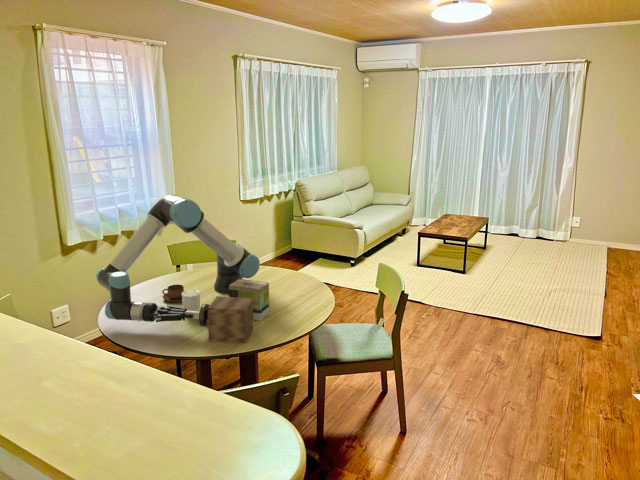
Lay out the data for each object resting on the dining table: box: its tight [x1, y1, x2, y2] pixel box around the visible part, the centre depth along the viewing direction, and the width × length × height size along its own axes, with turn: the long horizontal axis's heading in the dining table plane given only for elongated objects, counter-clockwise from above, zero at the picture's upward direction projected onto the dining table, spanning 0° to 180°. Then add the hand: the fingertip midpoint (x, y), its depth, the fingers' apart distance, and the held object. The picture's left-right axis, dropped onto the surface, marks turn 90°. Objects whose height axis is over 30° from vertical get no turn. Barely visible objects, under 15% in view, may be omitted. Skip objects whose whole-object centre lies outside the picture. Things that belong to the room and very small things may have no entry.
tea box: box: [228, 278, 270, 322], centre depth 211 cm, size 15×10×15 cm, turn 71°
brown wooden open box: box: [207, 296, 254, 344], centre depth 191 cm, size 15×12×14 cm
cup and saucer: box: [161, 284, 185, 303], centre depth 227 cm, size 12×12×6 cm
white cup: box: [181, 289, 201, 311], centre depth 210 cm, size 8×8×10 cm
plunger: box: [198, 303, 210, 328], centre depth 191 cm, size 16×9×9 cm, turn 85°
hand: (201, 315), depth 191 cm, fingers closed
